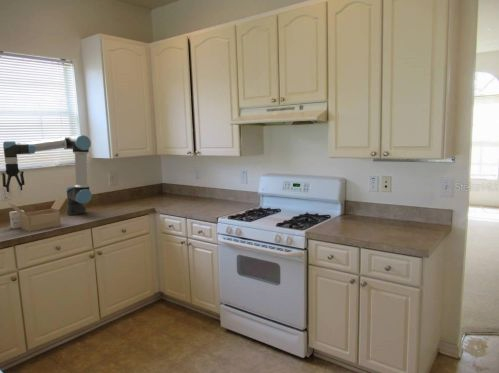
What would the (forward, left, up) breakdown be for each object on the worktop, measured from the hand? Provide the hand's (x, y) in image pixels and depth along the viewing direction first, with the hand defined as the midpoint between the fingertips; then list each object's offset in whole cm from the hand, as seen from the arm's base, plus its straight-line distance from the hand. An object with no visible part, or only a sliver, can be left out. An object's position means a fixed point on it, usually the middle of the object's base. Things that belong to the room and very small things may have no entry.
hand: (15, 195), depth 272 cm
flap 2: (-20, +14, -12) cm, 27 cm away
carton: (-10, +14, -23) cm, 29 cm away
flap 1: (0, +14, -12) cm, 18 cm away
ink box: (0, 0, -23) cm, 23 cm away
